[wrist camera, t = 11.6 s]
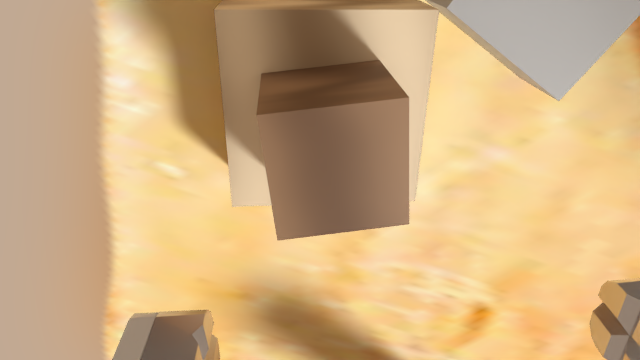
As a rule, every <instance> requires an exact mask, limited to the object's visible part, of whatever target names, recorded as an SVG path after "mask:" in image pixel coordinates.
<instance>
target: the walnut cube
mask: <svg viewBox="0 0 640 360" xmlns="http://www.w3.org/2000/svg"><path fill="white" fill-rule="evenodd" d="M256 116H257V122H258V128H259V134H260V140H261V146H262V152H263V157H264V163H265V169H266V175H267V181H268V187H269V193H270V199H271V204H272V210H273V216H274V222H275V228H276V234H277V240H285V239H293V238H301V237H309V236H317V235H325V234H334V233H342V232H350V231H358V230H366V229H374V228H382V227H390V226H398V225H406V224H409V96H408V95H407V94H406V93H405V91H404V90H403V89H402V88H401V86H400V85H399V84H398V83H397V81H396V80H395V79H394V78H393V76H392V75H391V74H390V73H389V71H388V70H387V69H386V68H385V66H384V65H383V64H382V63H381V61H380V60H374V61H365V62H357V63H348V64H339V65H330V66H322V67H313V68H304V69H295V70H287V71H278V72H269V73H261V80H260V89H259V97H258V105H257V114H256Z"/></svg>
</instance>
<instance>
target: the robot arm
mask: <svg viewBox="0 0 640 360" xmlns="http://www.w3.org/2000/svg"><path fill="white" fill-rule="evenodd" d="M598 296H599V297H600V299H601V300H602V302H603V303H602V304H601V305H600V306H598V307H597V308H596V309H595V310H594V311H593V313H592V316H591V320H590V330H591V336H592V339H593V341H594V343H595V346H596V347H597V349H598V350H599V352H600V353H601V355H602V356H603V357H604V358H606V359H607V360H640V278H638V279H625V280H613V281H607V282H606V283H604V284H603V285H602V286H601V289H600V292H599V295H598ZM213 325H214V322H213V318H212V314H211V311H209V310H190V311H168V312H159V313H135V314H134V315H133V316H132V317H131V318H130V319H129V321H128V323H127V326H126V328H125V330H124V333H123V335H122V338H121V340H120V342H119V345H118V347H117V350H116V352H115V354H114V357H113V359H112V360H220V352H219V344H218V339H217V338H216V337H215V336H214V335H212V330H213Z"/></svg>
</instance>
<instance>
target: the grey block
mask: <svg viewBox="0 0 640 360" xmlns="http://www.w3.org/2000/svg"><path fill="white" fill-rule="evenodd" d="M426 1H427V2H428V3H429V4H430V5H432V6H433V7H434V8H437V9H439V12H440V13H441V14H443V15H444V16H445V17H446V18H447V19H449V20H450V21H451V22H452V23H454V24H455V25H456V26H457V27H458V28H460V29H461V30H462V31H463V32H465V33H466V34H467V35H468V36H469V37H471V38H472V39H473V40H474V41H476V42H477V43H478V44H479V45H480V46H482V47H483V48H484V49H485V50H486V51H488V52H489V53H490V54H491V55H493V56H494V57H495V58H496V59H497V60H499V61H500V62H501V63H502V64H504V65H505V66H506V67H507V68H508V69H510V70H511V71H512V72H513V73H515V74H516V75H517V76H518V77H519V78H521V79H522V80H524V81H526V82H528V83H529V84H531V85H533V86H534V87H536V88H538V89H539V90H541V91H543V92H544V93H546V94H548V95H549V96H551V97H553V98H555V99H556V100H558V101H559V100H560V99H561V98H562V97H563V96H564V95H565V94H566V93H567V92H568V91H569V90H570V89H571V88H572V87H573V86H574V84H575V83H576V82H577V81H578V80H579V79H580V78H581V77H582V76H583V75H584V74H585V73H586V72H587V71H588V70H589V69H590V67H591V66H592V65H593V64H594V63H595V62H596V61H597V60H598V59H599V58H600V57H601V56H602V55H603V54H604V53H605V52H606V50H607V49H608V48H609V47H610V46H611V45H612V44H613V43H614V42H615V41H616V40H617V39H618V38H619V37H620V36H621V35H622V33H623V32H624V31H625V30H626V29H627V28H628V27H629V26H630V25H631V24H632V23H633V22H634V21H635V20H636V19H637V18H638V16H639V15H640V0H426Z"/></svg>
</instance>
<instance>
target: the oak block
mask: <svg viewBox="0 0 640 360" xmlns="http://www.w3.org/2000/svg"><path fill="white" fill-rule="evenodd" d="M214 15H215V26H216V37H217V47H218V58H219V69H220V80H221V91H222V102H223V112H224V123H225V134H226V145H227V156H228V166H229V177H230V188H231V199H232V207H237V206H269V205H272V204H271V199H270V193H269V187H268V181H267V175H266V169H265V163H264V157H263V152H262V146H261V140H260V134H259V128H258V122H257V116H256V114H257V105H258V97H259V89H260V80H261V73H269V72H278V71H287V70H295V69H304V68H313V67H322V66H330V65H339V64H348V63H357V62H365V61H374V60H380V61H381V63H382V64H383V65H384V66H385V68H386V69H387V70H388V71H389V73H390V74H391V75H392V76H393V78H394V79H395V80H396V81H397V83H398V84H399V85H400V86H401V88H402V89H403V90H404V91H405V93H406V94H407V95H408V96H409V201H415V197H416V189H417V181H418V173H419V165H420V157H421V149H422V142H423V134H424V126H425V118H426V110H427V102H428V94H429V86H430V79H431V71H432V63H433V55H434V47H435V39H436V31H437V23H438V15H439V9H437V8H434V7H432V6H430V5H428V4H426V3H424V2H421V1H419V0H222V1H221V2H220V3H219V4H218V6H217V7H216V8H215V9H214Z"/></svg>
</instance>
